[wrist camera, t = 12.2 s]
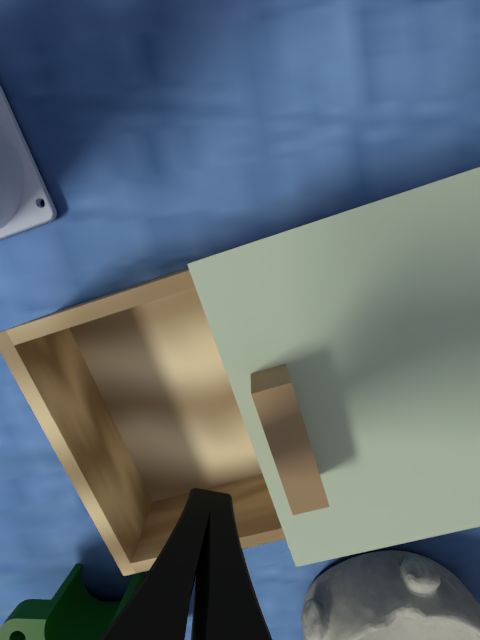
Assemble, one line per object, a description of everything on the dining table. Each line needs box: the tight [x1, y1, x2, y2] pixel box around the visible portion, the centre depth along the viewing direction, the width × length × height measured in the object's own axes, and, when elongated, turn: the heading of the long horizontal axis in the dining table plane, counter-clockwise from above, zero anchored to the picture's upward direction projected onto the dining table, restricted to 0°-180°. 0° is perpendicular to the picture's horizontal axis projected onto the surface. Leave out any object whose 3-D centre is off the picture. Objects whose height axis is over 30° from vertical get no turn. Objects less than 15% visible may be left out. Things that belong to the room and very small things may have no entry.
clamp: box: [0, 564, 143, 640], centre depth 23 cm, size 12×6×9 cm, turn 83°
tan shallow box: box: [0, 268, 286, 576], centre depth 18 cm, size 16×17×5 cm
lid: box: [187, 167, 480, 567], centre depth 14 cm, size 17×14×5 cm
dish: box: [301, 550, 480, 640], centre depth 23 cm, size 14×14×5 cm
